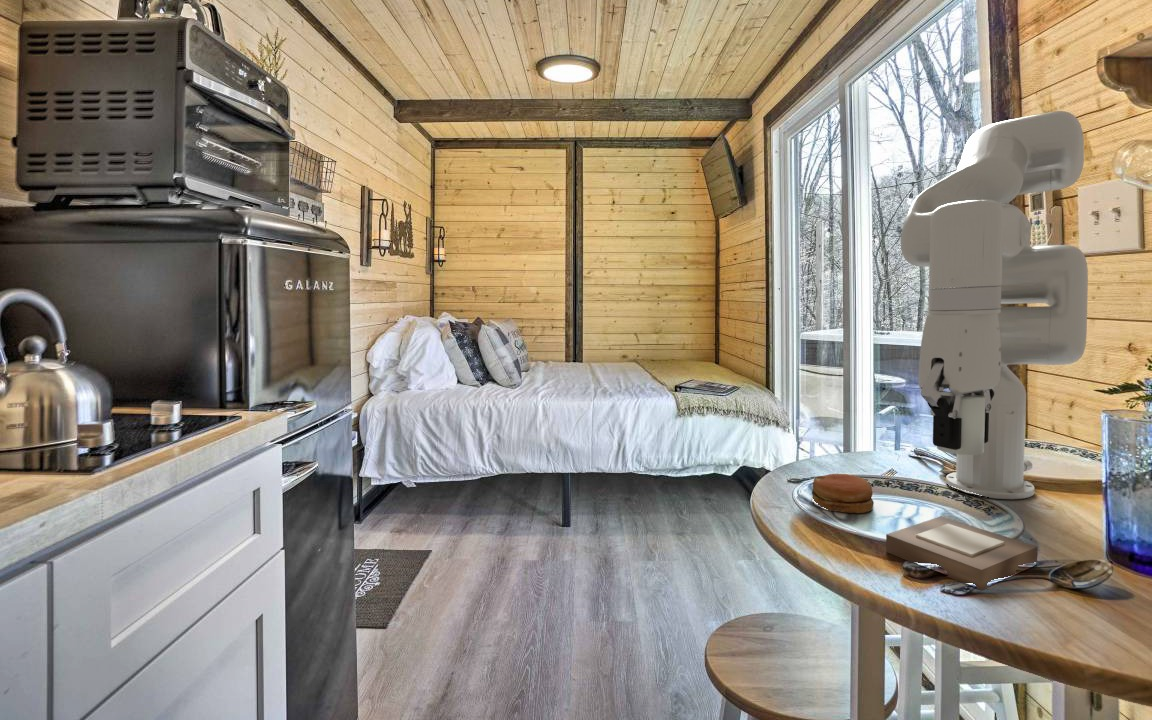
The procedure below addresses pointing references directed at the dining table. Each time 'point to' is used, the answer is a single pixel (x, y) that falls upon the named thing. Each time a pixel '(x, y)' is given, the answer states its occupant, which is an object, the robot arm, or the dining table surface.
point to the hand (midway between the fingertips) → (960, 442)
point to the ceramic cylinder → (970, 425)
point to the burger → (843, 493)
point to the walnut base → (961, 550)
